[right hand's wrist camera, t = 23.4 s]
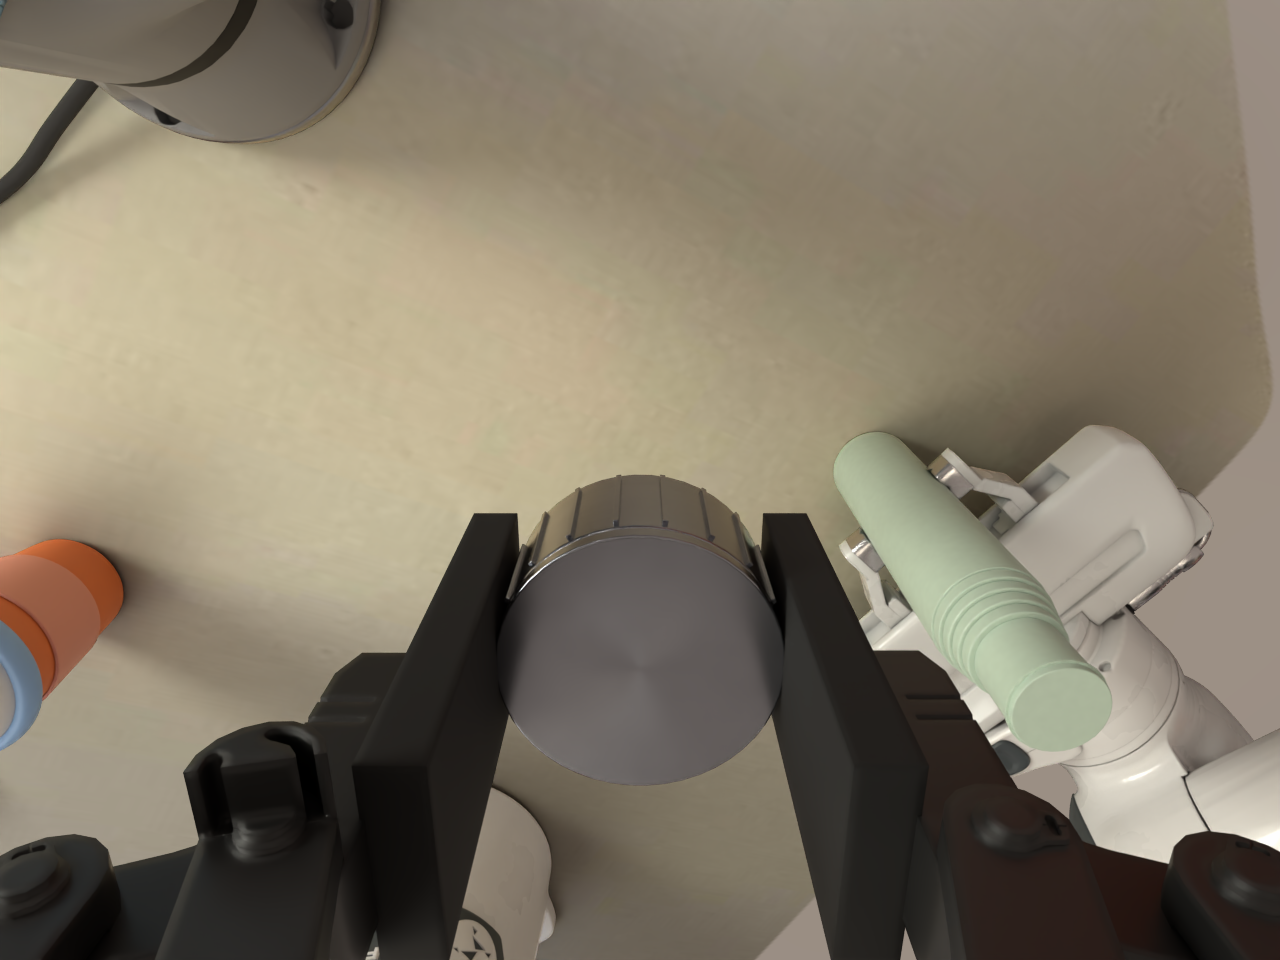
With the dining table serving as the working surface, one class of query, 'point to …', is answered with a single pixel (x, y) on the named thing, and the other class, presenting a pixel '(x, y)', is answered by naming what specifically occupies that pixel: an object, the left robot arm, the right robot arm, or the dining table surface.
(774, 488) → the dining table surface
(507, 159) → the dining table surface
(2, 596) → the cup with straw
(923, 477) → the bottle
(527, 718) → the cap
